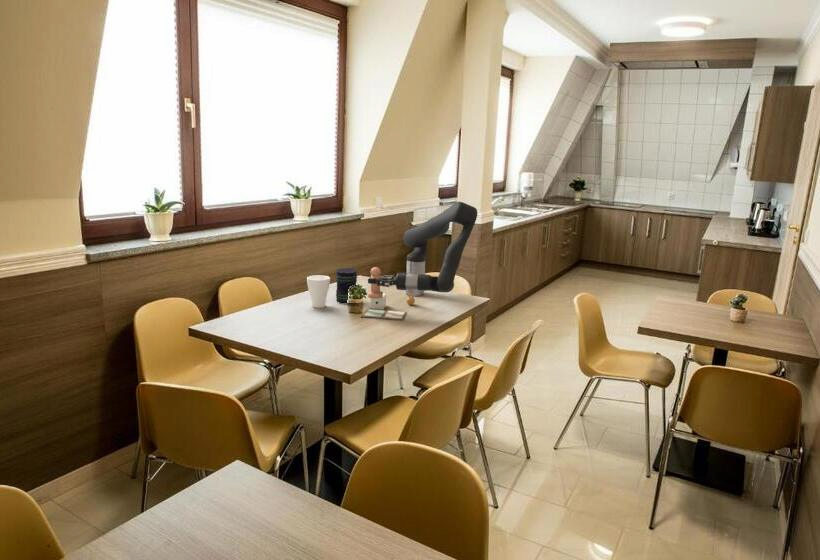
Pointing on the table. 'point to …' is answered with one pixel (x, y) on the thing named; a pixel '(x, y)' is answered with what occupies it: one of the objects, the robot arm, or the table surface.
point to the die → (378, 302)
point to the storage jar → (344, 283)
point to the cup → (318, 289)
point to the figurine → (410, 299)
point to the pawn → (375, 288)
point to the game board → (383, 314)
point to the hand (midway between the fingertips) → (369, 279)
